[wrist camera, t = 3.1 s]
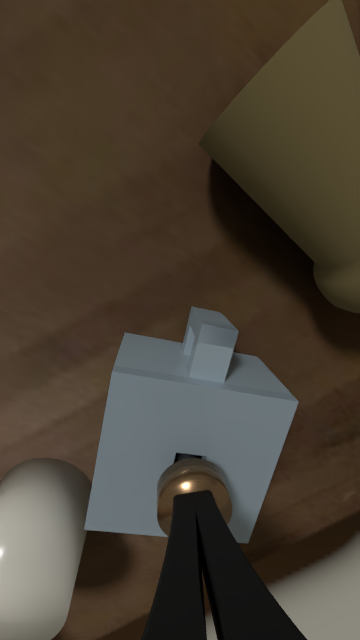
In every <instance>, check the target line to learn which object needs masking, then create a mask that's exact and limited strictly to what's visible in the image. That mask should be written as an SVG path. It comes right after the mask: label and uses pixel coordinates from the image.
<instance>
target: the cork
mask: <svg viewBox="0 0 360 640" xmlns="http://www.w3.org/2000/svg"><path fill="white" fill-rule="evenodd" d="M199 145H200V146H201V147H202V148H203V149H204V150H205V151H206V152H207V153H208V154H209V155H210V156H211V157H212V158H213V159H214V160H215V161H216V162H217V163H218V164H219V165H220V166H221V167H222V168H223V169H224V170H225V172H226V173H227V174H228V175H229V176H230V177H231V178H232V179H233V180H234V181H235V182H236V183H237V184H238V185H239V186H240V187H241V188H242V189H243V190H244V191H245V192H246V193H247V194H248V195H249V196H250V197H251V198H252V199H253V200H254V201H255V202H256V203H257V204H258V205H259V206H260V207H261V208H262V209H263V210H264V211H265V212H266V213H267V214H268V215H269V216H270V217H271V218H272V219H273V221H274V222H275V223H276V224H277V225H278V226H279V227H280V228H281V229H282V230H283V231H284V232H285V233H286V234H287V235H288V236H289V237H290V238H291V239H292V240H293V241H294V242H295V243H296V244H297V245H298V246H299V247H300V248H301V249H302V250H303V251H304V252H305V253H306V254H307V255H308V256H309V257H310V258H311V259H312V260H313V261H314V267H313V276H314V279H315V282H316V285H317V287H318V289H319V290H320V291H321V293H322V294H323V295H324V297H325V298H326V299H327V300H328V301H329V302H330V303H332V304H333V305H334V306H336V307H338V308H341V309H344V310H347V311H350V312H353V313H360V56H359V53H358V50H357V46H356V43H355V40H354V37H353V34H352V31H351V28H350V25H349V22H348V18H347V15H346V12H345V9H344V6H343V3H342V0H329V1H328V2H327V3H326V4H325V5H324V6H323V7H322V8H321V9H319V10H318V11H317V12H316V13H315V14H314V15H313V16H312V17H311V18H310V19H309V20H308V21H307V22H306V23H305V24H304V25H303V26H302V27H301V28H300V29H299V30H298V31H297V32H296V33H295V34H294V35H293V36H292V37H291V38H290V39H289V40H288V41H287V42H286V43H285V44H284V45H283V46H282V47H281V48H280V49H279V50H278V52H277V53H276V54H275V55H274V56H273V57H272V58H271V59H270V60H269V61H268V62H267V63H266V64H265V65H264V66H263V67H262V68H261V70H260V71H259V72H258V73H257V74H256V75H255V76H254V77H253V78H252V79H251V81H250V82H249V83H248V84H247V85H246V86H245V87H244V88H243V89H242V91H241V92H240V93H239V94H238V95H237V96H236V97H235V98H234V99H233V101H232V102H231V103H230V104H229V105H228V107H227V108H226V109H225V110H224V111H223V112H222V114H221V115H220V116H219V117H218V118H217V119H216V121H215V122H214V123H213V124H212V126H211V127H210V128H209V130H208V131H207V132H206V133H205V135H204V136H203V138H202V139H201V141H200V142H199Z"/></svg>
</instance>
